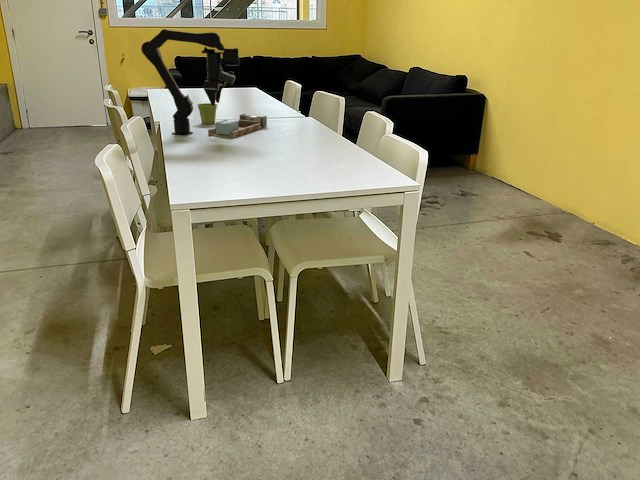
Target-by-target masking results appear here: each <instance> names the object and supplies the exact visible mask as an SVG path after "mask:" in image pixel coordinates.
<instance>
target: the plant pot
mask: <svg viewBox="0 0 640 480" xmlns="http://www.w3.org/2000/svg"><path fill="white" fill-rule="evenodd" d="M196 106H197V108H198V111H199V116H200V121H201V124H203V125H210V124H211V125H214V124H215V123H216V114H217V109H218V104H217V103H215V106H212V105H211V102H209V103H207V102H203V103H198V104H196Z"/></svg>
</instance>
